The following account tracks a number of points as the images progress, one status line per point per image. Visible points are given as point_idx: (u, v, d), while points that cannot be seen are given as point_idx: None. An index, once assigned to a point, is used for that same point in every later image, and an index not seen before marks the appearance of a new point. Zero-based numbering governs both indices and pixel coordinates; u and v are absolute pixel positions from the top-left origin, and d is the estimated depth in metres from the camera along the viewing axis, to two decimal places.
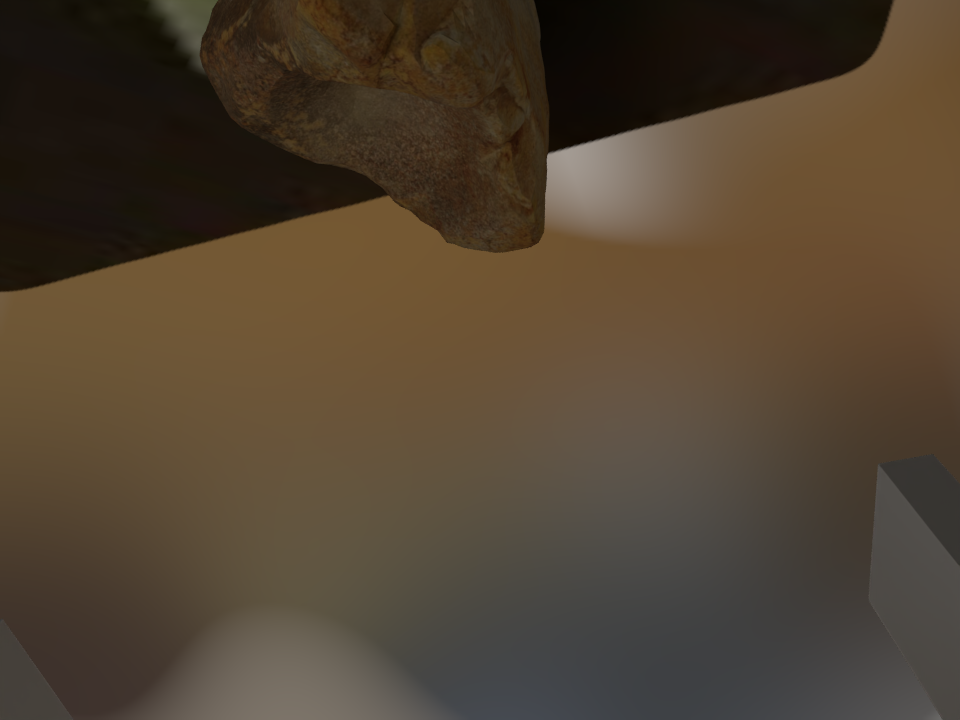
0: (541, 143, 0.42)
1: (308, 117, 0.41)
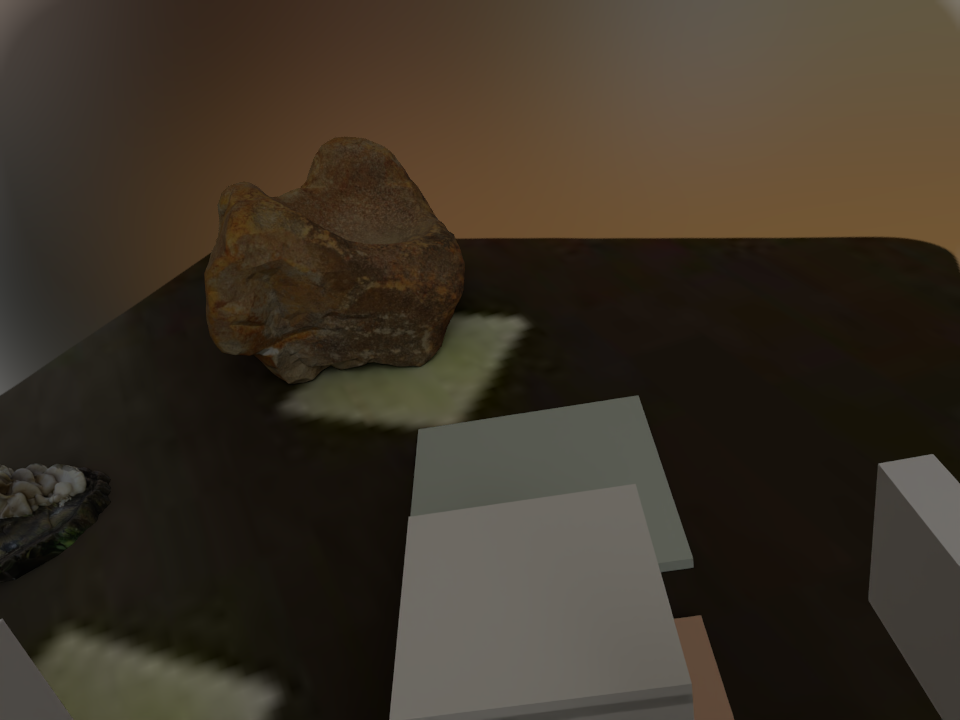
0: None
1: None
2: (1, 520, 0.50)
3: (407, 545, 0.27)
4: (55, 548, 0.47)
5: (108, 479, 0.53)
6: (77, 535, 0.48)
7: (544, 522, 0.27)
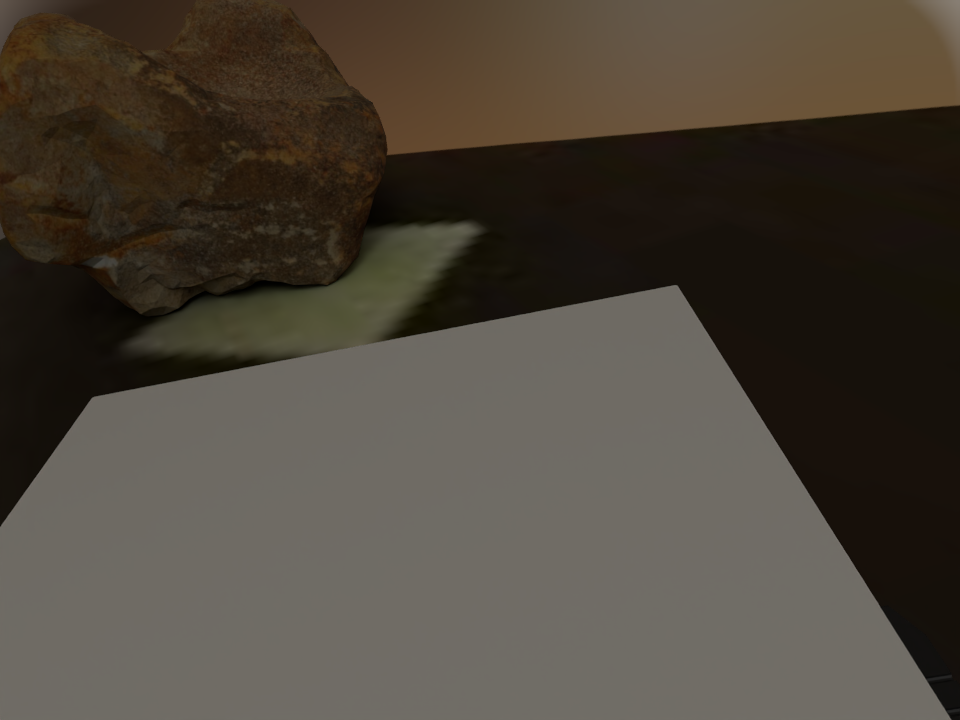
0: None
1: None
2: None
3: (51, 459, 0.10)
4: None
5: None
6: None
7: (430, 381, 0.09)
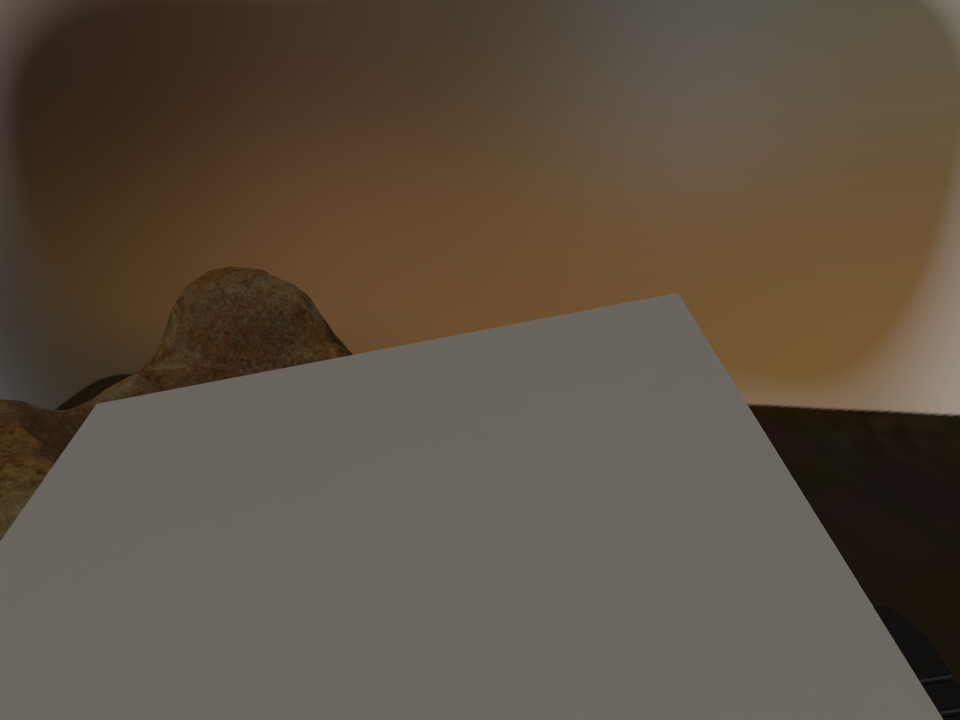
0: None
1: None
2: None
3: (56, 466, 0.10)
4: None
5: None
6: None
7: (433, 388, 0.10)
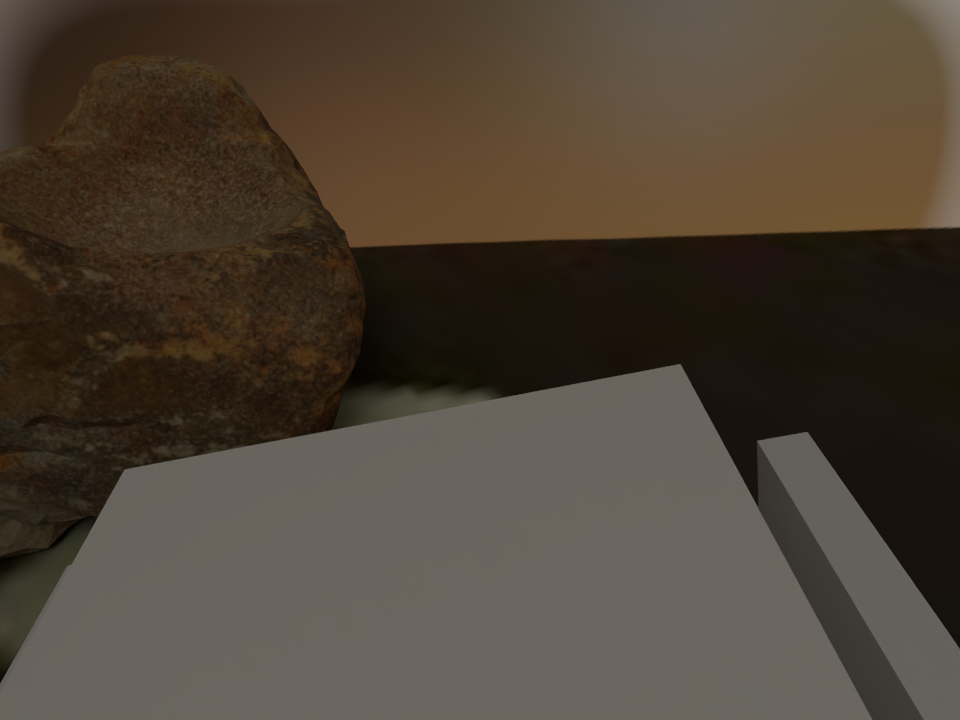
0: None
1: None
2: None
3: (90, 537, 0.10)
4: None
5: None
6: None
7: (449, 462, 0.10)
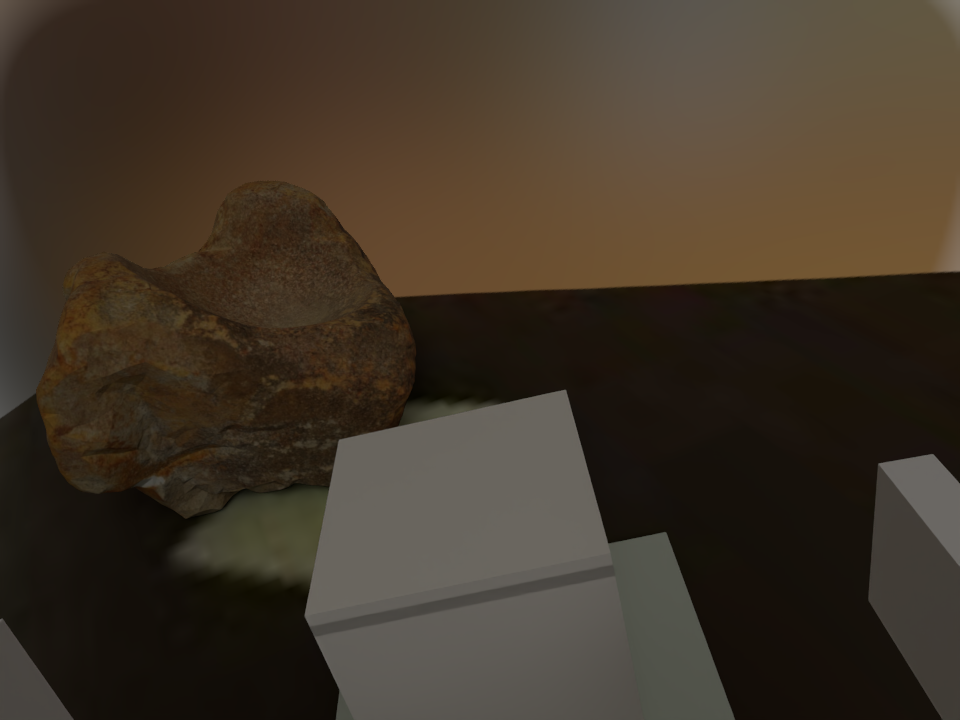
0: None
1: (343, 316, 0.44)
2: None
3: (335, 464, 0.26)
4: None
5: None
6: None
7: (473, 431, 0.26)
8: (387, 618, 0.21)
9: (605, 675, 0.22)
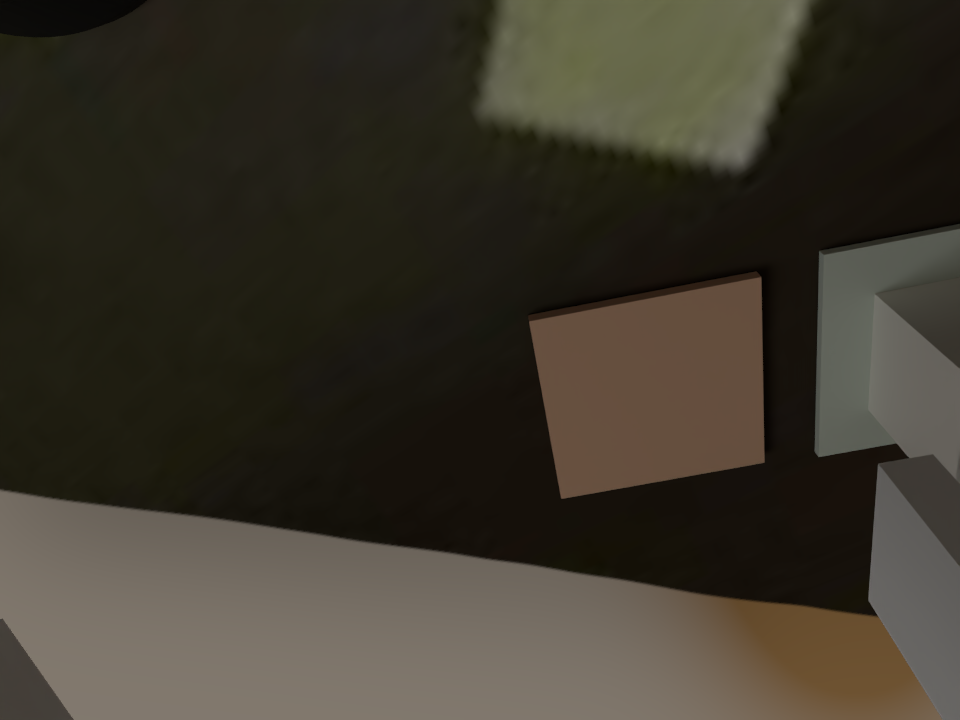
0: None
1: None
2: None
3: None
4: None
5: None
6: None
7: None
8: None
9: (916, 453, 0.43)
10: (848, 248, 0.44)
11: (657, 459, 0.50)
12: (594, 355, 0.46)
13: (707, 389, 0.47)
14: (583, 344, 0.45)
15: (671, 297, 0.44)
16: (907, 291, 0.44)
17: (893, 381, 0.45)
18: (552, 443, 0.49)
